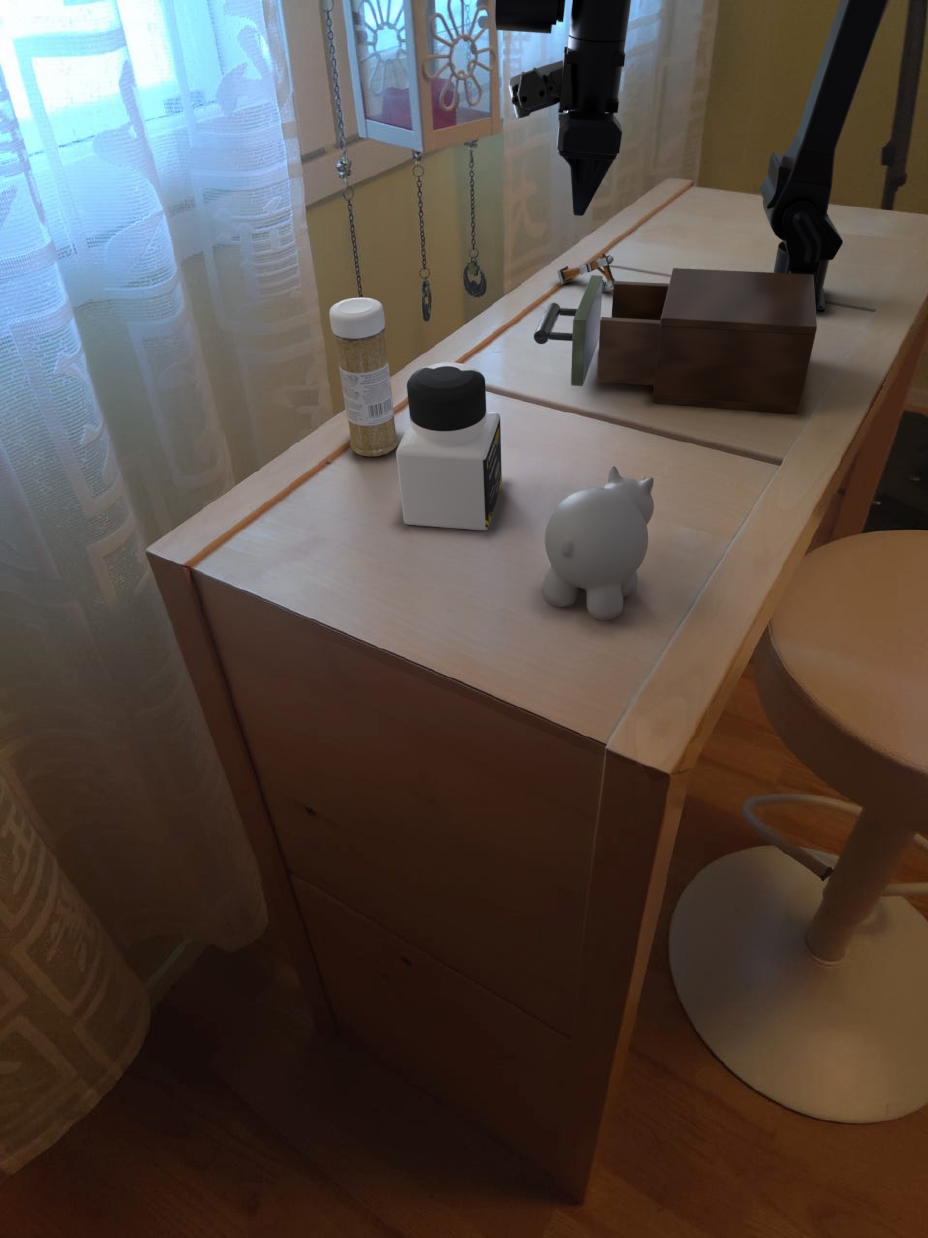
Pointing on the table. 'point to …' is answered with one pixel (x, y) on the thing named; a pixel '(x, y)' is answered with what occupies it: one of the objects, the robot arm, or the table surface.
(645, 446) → the table surface
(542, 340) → the drawer
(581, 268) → the wooden post with brackets
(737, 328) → the cabinet
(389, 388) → the sprinkles bottle
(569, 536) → the chubby cartoon animal
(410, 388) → the medicine bottle
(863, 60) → the robot arm
